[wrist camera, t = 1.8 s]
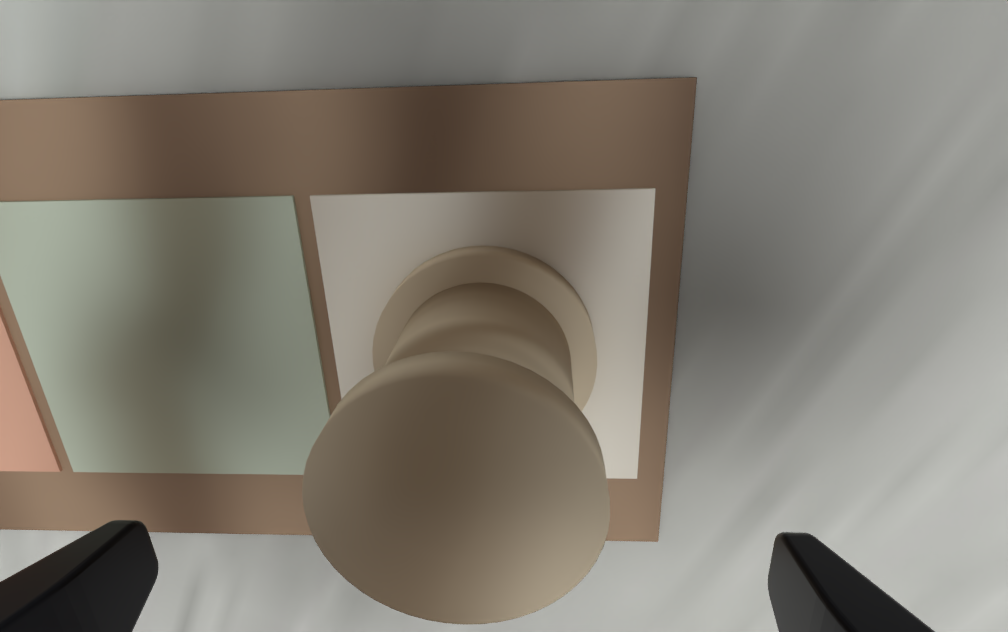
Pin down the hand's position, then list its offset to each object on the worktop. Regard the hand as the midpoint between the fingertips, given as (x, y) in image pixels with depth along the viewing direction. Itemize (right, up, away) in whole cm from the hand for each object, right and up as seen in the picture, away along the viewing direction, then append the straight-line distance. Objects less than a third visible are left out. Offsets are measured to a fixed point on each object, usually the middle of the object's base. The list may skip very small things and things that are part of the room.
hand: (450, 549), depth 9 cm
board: (-8, +3, +7) cm, 11 cm away
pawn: (0, +3, +6) cm, 7 cm away
